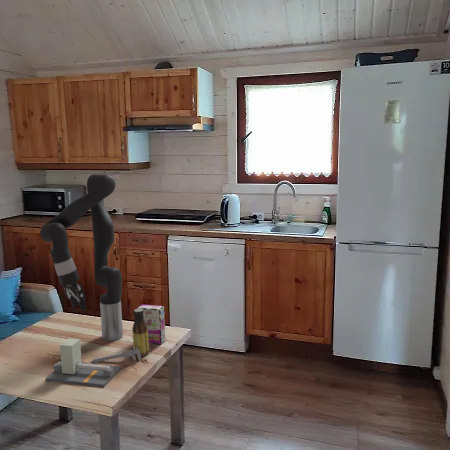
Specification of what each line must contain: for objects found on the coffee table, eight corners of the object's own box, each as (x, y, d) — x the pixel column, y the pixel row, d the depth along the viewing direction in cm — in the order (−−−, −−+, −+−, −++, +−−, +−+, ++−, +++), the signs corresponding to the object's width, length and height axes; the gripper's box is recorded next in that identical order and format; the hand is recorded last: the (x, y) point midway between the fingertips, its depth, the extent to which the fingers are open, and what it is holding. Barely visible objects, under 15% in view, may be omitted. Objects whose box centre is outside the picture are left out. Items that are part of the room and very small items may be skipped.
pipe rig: (65, 363, 183) (65, 353, 182) (120, 368, 178) (120, 358, 177) (45, 380, 169) (44, 370, 169) (104, 387, 164) (103, 375, 164)
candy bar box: (166, 340, 204) (164, 305, 201) (161, 344, 199) (160, 309, 197) (143, 337, 207) (142, 303, 204) (138, 342, 202) (137, 307, 200)
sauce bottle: (141, 349, 195) (139, 305, 192) (152, 352, 192) (150, 308, 188) (130, 354, 190) (128, 310, 187) (140, 358, 186) (138, 313, 183)
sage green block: (70, 365, 178) (68, 338, 176) (81, 366, 177) (80, 339, 175) (62, 373, 172) (59, 344, 170) (73, 374, 171) (71, 345, 169)
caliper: (140, 359, 186) (140, 345, 185) (140, 361, 185) (139, 346, 184) (90, 361, 185) (89, 347, 184) (90, 363, 184) (89, 348, 183)
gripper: (82, 268, 176) (95, 305, 179) (68, 266, 186) (81, 302, 190) (64, 275, 171) (78, 314, 174) (51, 273, 182) (64, 310, 185)
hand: (79, 307), depth 182 cm, fingers open, 8 cm apart
